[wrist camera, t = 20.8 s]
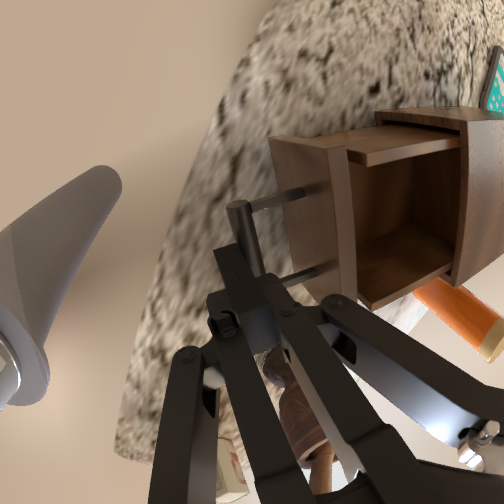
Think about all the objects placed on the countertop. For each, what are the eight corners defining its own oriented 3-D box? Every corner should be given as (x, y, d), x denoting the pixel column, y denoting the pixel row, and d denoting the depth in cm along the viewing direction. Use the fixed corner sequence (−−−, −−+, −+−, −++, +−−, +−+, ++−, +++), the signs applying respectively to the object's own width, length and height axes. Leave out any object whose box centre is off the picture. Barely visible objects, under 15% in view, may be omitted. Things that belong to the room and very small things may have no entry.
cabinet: (384, 240, 29) (454, 289, 20) (373, 110, 23) (467, 120, 13) (464, 206, 31) (524, 236, 22) (462, 106, 25) (533, 119, 16)
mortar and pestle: (301, 394, 37) (364, 512, 19) (242, 400, 34) (295, 538, 16) (334, 332, 33) (432, 464, 15) (267, 332, 30) (357, 505, 12)
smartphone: (519, 81, 24) (502, 145, 28) (514, 80, 25) (497, 143, 29) (499, 41, 21) (482, 105, 24) (494, 41, 21) (477, 104, 25)
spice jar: (407, 298, 35) (482, 368, 22) (422, 264, 33) (507, 328, 20) (428, 297, 36) (498, 358, 23) (442, 265, 34) (519, 322, 21)
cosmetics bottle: (215, 453, 39) (229, 504, 30) (193, 449, 37) (205, 503, 28) (234, 440, 38) (252, 493, 29) (212, 435, 36) (227, 493, 27)
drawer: (243, 293, 26) (276, 363, 18) (203, 154, 20) (226, 174, 12) (411, 229, 28) (470, 264, 21) (406, 114, 23) (480, 125, 15)
